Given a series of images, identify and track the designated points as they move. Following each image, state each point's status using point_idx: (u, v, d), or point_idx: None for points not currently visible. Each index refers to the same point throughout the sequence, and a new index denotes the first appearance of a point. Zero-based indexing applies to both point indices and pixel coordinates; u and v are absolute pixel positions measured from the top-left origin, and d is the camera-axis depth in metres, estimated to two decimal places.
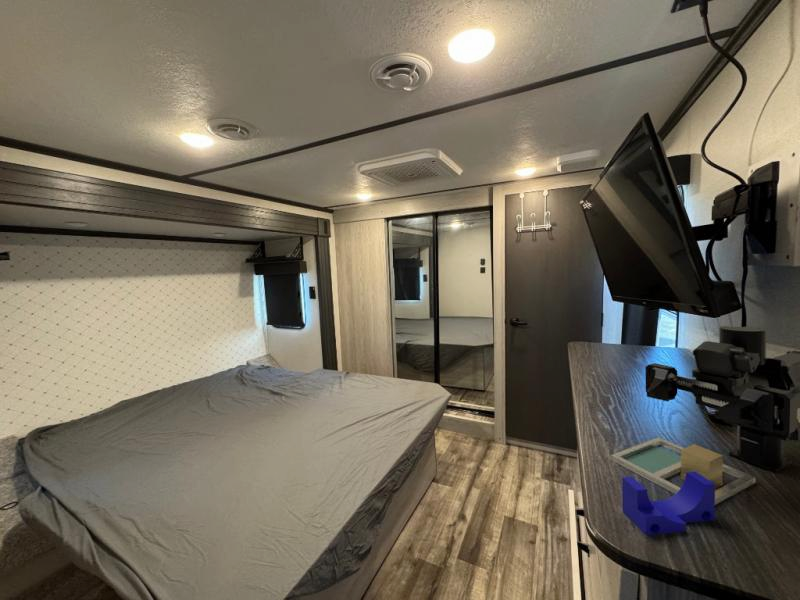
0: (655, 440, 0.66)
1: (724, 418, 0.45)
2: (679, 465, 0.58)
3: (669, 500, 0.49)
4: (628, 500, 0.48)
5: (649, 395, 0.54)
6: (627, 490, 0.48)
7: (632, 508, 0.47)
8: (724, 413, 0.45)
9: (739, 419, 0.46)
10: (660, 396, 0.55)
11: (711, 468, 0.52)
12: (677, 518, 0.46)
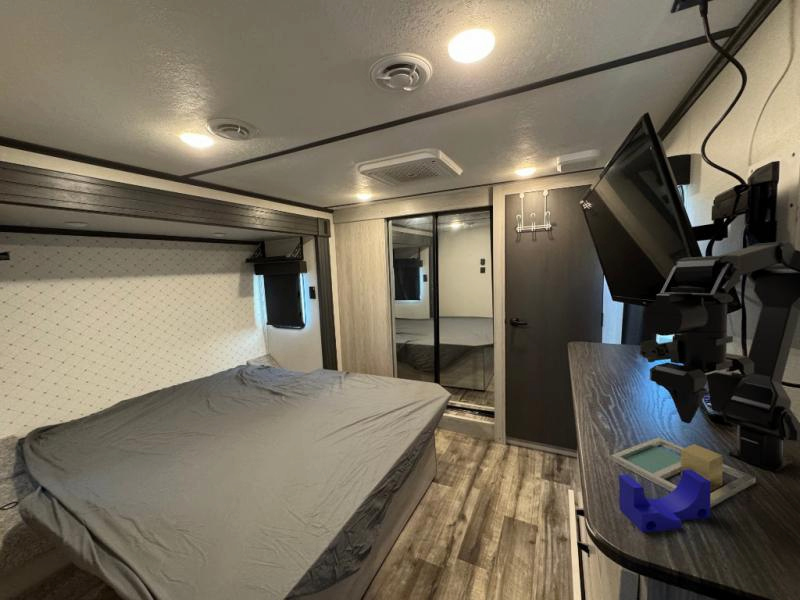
0: (655, 440, 0.66)
1: (688, 418, 0.51)
2: (679, 465, 0.58)
3: (665, 498, 0.49)
4: (624, 498, 0.48)
5: (717, 411, 0.55)
6: (624, 488, 0.48)
7: (628, 506, 0.48)
8: (682, 417, 0.52)
9: (688, 406, 0.51)
10: (726, 393, 0.54)
11: (711, 468, 0.52)
12: (673, 515, 0.46)
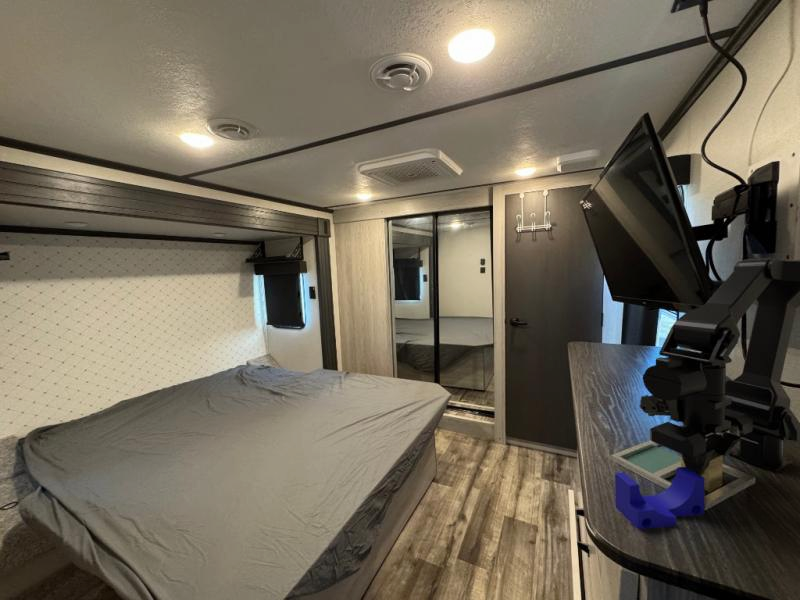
0: None
1: None
2: (679, 465, 0.58)
3: (660, 495, 0.50)
4: (621, 496, 0.49)
5: None
6: (620, 485, 0.49)
7: (624, 503, 0.48)
8: None
9: (696, 464, 0.52)
10: None
11: (711, 468, 0.52)
12: (668, 512, 0.47)
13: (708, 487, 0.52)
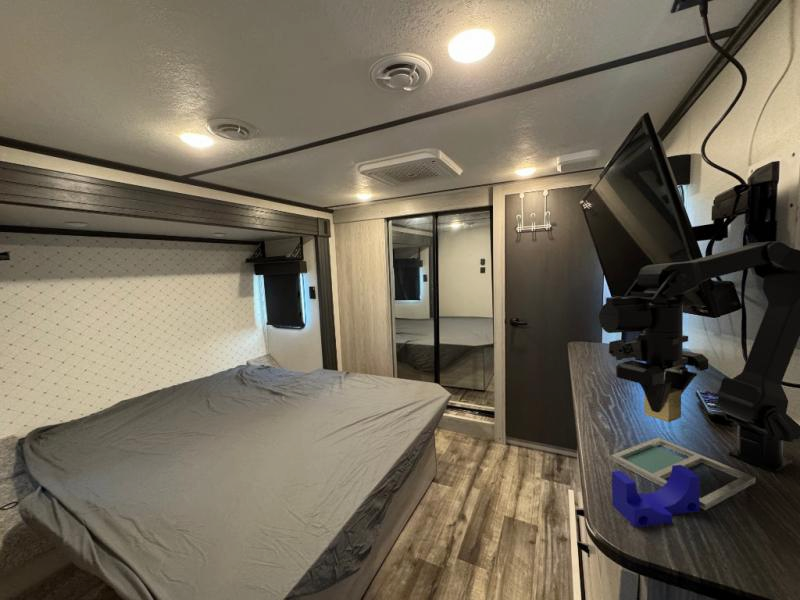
0: (655, 440, 0.66)
1: (657, 408, 0.58)
2: None
3: (656, 493, 0.51)
4: (617, 494, 0.49)
5: None
6: (616, 484, 0.49)
7: (621, 501, 0.49)
8: (652, 407, 0.59)
9: (657, 397, 0.57)
10: None
11: (670, 401, 0.57)
12: (664, 510, 0.47)
13: (667, 418, 0.57)
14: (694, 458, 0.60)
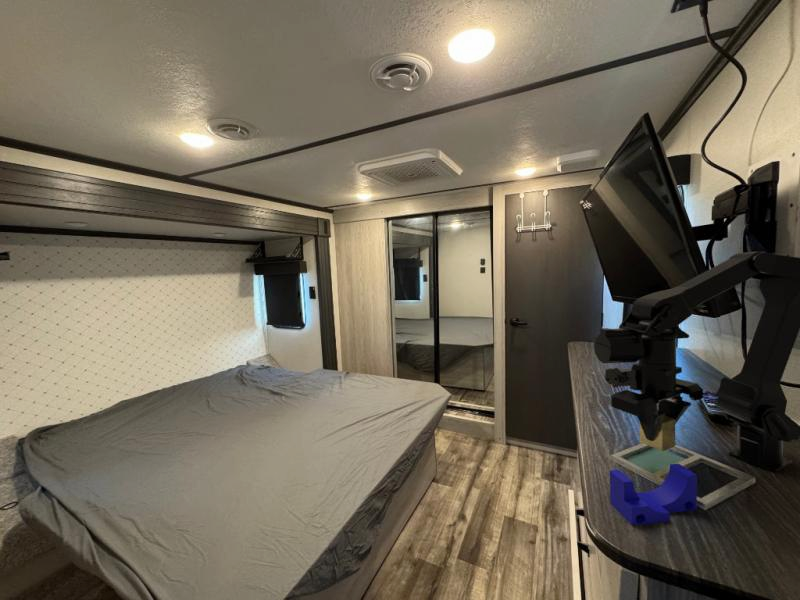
0: None
1: (652, 437, 0.59)
2: None
3: (654, 492, 0.51)
4: (615, 492, 0.50)
5: None
6: (614, 482, 0.50)
7: (619, 500, 0.49)
8: (647, 435, 0.60)
9: (651, 427, 0.59)
10: None
11: (664, 430, 0.58)
12: (661, 508, 0.48)
13: (661, 447, 0.59)
14: (694, 458, 0.60)
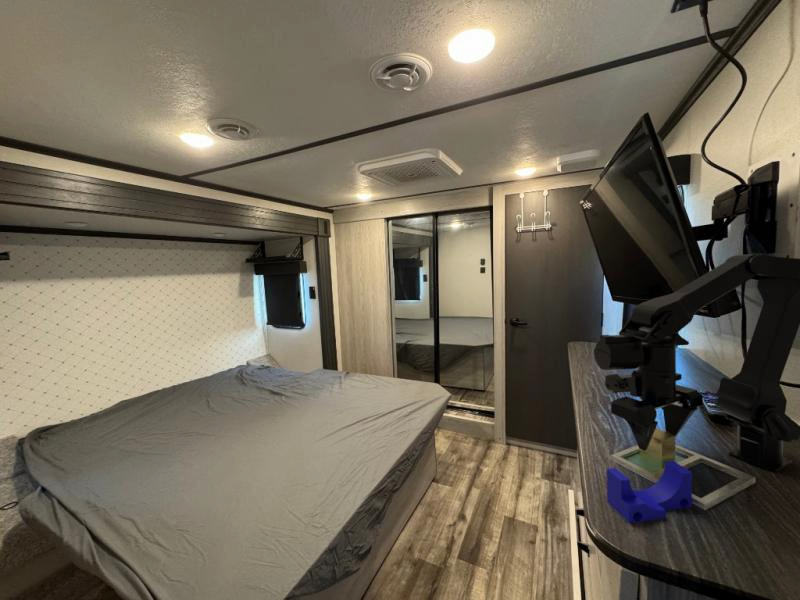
0: None
1: (644, 446, 0.59)
2: None
3: (650, 489, 0.52)
4: (612, 491, 0.50)
5: None
6: (611, 481, 0.50)
7: (616, 498, 0.49)
8: (639, 444, 0.59)
9: (643, 436, 0.58)
10: (678, 423, 0.61)
11: (664, 447, 0.59)
12: (657, 506, 0.48)
13: (661, 463, 0.59)
14: (694, 458, 0.60)
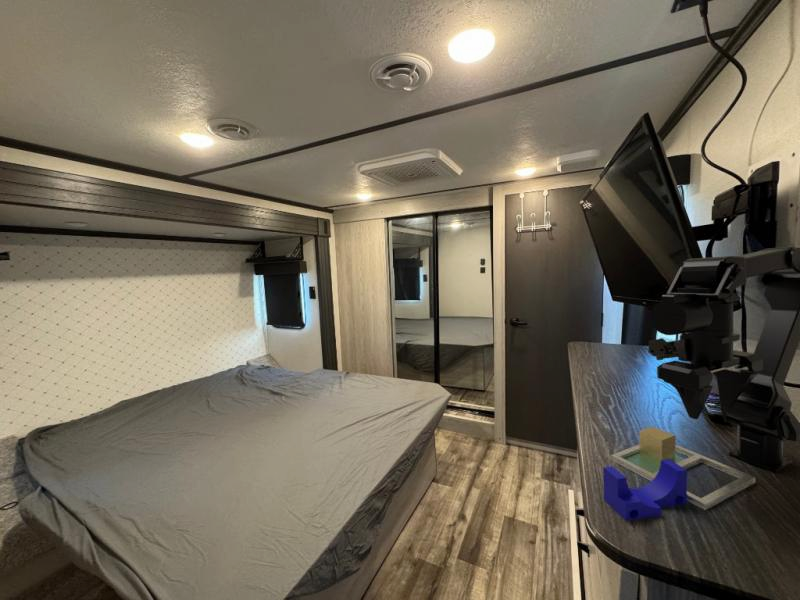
0: None
1: (695, 414, 0.53)
2: (679, 465, 0.58)
3: (646, 487, 0.52)
4: (609, 489, 0.51)
5: (726, 407, 0.57)
6: (608, 479, 0.51)
7: (612, 496, 0.50)
8: (690, 413, 0.54)
9: (695, 403, 0.53)
10: (735, 390, 0.55)
11: (664, 447, 0.59)
12: (653, 503, 0.49)
13: None
14: (694, 458, 0.60)
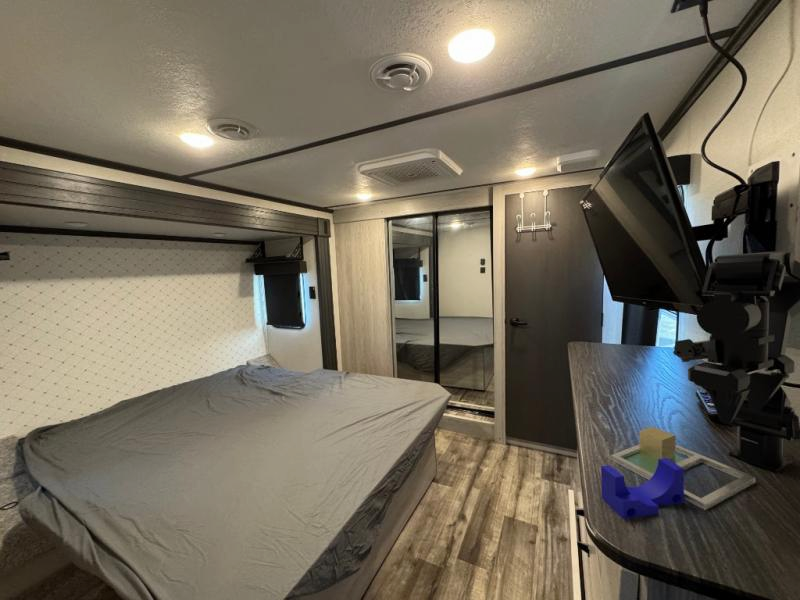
0: None
1: (729, 419, 0.50)
2: (679, 465, 0.58)
3: (643, 486, 0.52)
4: (606, 488, 0.51)
5: (756, 411, 0.54)
6: (606, 478, 0.51)
7: (610, 494, 0.50)
8: (722, 418, 0.51)
9: (729, 407, 0.50)
10: (765, 393, 0.53)
11: (664, 447, 0.59)
12: (651, 502, 0.49)
13: None
14: (694, 458, 0.60)
